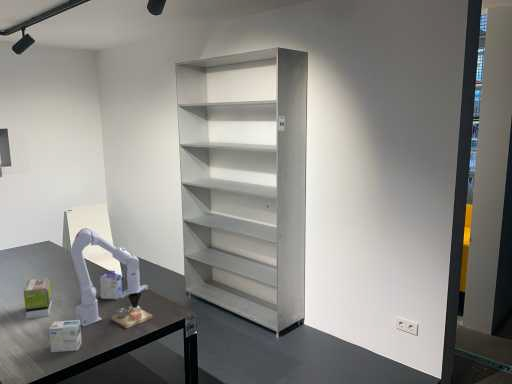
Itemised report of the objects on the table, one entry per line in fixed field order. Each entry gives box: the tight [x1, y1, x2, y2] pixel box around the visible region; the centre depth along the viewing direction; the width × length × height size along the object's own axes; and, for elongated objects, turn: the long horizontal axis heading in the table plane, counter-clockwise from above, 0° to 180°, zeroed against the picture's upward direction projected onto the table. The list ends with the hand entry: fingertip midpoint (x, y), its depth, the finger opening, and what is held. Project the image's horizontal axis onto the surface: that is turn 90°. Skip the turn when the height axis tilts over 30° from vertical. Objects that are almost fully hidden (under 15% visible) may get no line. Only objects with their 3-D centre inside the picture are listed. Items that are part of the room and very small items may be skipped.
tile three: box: [115, 307, 129, 318], centre depth 201 cm, size 4×4×3 cm
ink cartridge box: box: [99, 270, 123, 300], centre depth 226 cm, size 10×6×14 cm, turn 82°
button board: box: [111, 309, 153, 329], centre depth 202 cm, size 14×13×2 cm
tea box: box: [23, 277, 52, 320], centre depth 209 cm, size 15×10×15 cm, turn 21°
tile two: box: [128, 305, 142, 313], centre depth 207 cm, size 4×4×2 cm
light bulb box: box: [48, 319, 82, 353], centre depth 175 cm, size 11×7×11 cm, turn 99°
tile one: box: [129, 311, 142, 320], centre depth 200 cm, size 4×4×2 cm
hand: (134, 307), depth 206 cm, fingers closed, pressing on tile two
